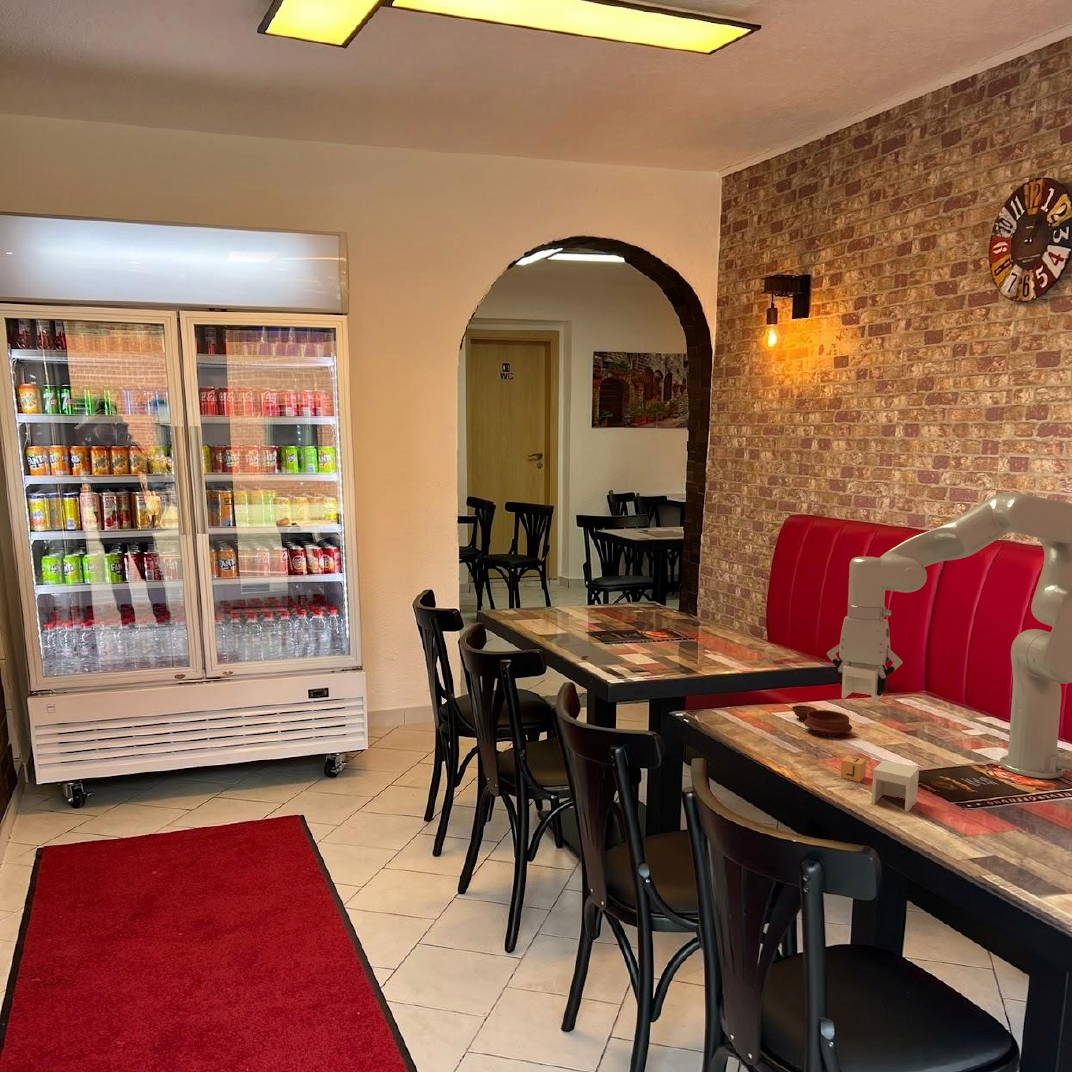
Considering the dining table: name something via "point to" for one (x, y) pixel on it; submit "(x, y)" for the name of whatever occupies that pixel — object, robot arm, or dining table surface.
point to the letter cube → (853, 768)
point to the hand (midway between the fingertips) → (862, 691)
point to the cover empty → (895, 782)
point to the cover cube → (860, 680)
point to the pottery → (823, 720)
